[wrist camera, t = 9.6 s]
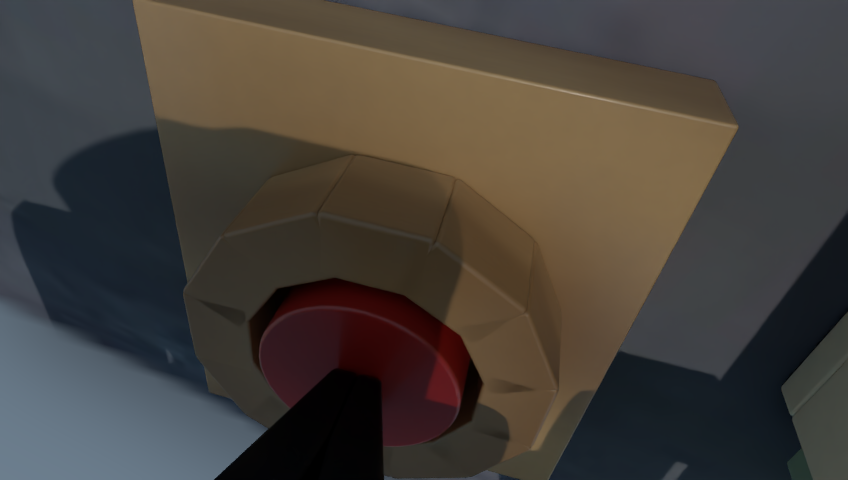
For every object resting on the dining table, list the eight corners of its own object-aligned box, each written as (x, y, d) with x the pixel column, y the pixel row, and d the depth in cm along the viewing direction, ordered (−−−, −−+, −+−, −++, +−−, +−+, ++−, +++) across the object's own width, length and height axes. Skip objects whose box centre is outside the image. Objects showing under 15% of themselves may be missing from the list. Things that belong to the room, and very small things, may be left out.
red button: (459, 393, 12) (443, 468, 10) (298, 349, 12) (262, 417, 11) (493, 267, 9) (479, 343, 8) (295, 219, 10) (249, 283, 8)
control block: (548, 428, 15) (541, 563, 12) (238, 345, 16) (169, 453, 13) (716, 80, 9) (777, 197, 6) (191, -28, 10) (39, 33, 7)
